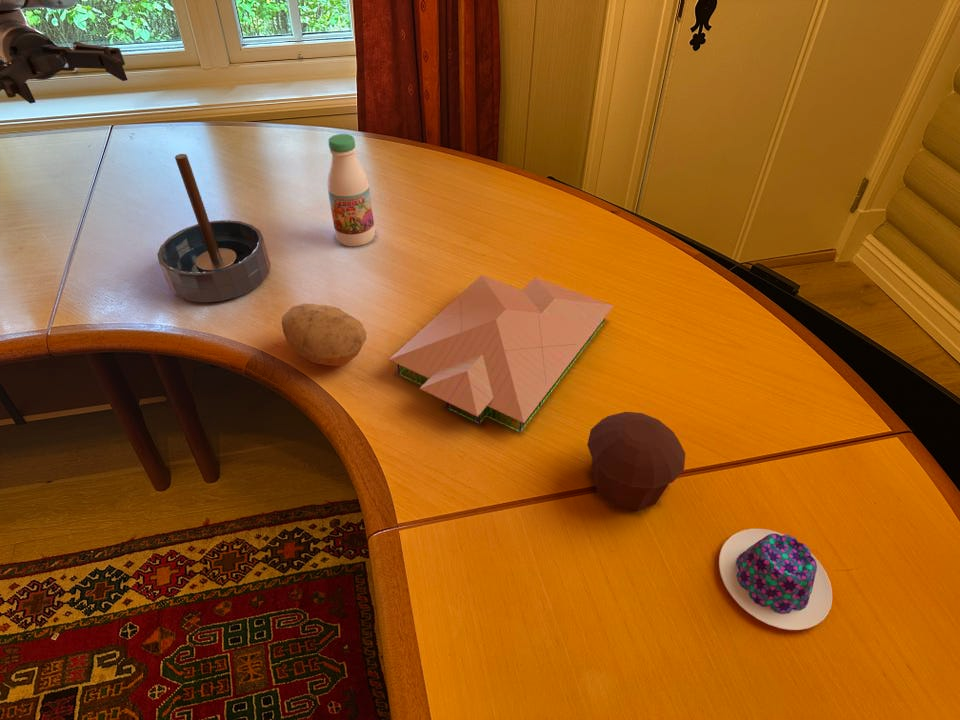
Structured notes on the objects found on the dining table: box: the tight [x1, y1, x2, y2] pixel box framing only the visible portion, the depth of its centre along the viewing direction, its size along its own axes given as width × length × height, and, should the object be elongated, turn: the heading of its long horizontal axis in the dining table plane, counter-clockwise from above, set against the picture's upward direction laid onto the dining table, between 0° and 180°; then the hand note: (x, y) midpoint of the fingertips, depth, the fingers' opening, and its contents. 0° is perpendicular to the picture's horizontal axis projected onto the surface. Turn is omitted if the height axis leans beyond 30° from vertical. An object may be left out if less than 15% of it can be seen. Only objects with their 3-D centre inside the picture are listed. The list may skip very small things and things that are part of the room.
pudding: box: [718, 528, 833, 631], centre depth 67 cm, size 12×12×5 cm
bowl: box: [157, 219, 272, 303], centre depth 108 cm, size 17×17×6 cm
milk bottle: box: [326, 133, 376, 247], centre depth 113 cm, size 8×8×20 cm
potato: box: [281, 303, 367, 367], centre depth 92 cm, size 10×14×8 cm
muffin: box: [586, 411, 686, 512], centre depth 75 cm, size 12×11×10 cm
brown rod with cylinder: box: [174, 153, 239, 272], centre depth 102 cm, size 7×7×22 cm
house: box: [388, 274, 615, 433], centre depth 93 cm, size 23×33×8 cm
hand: (77, 82), depth 92 cm, fingers open, 13 cm apart
